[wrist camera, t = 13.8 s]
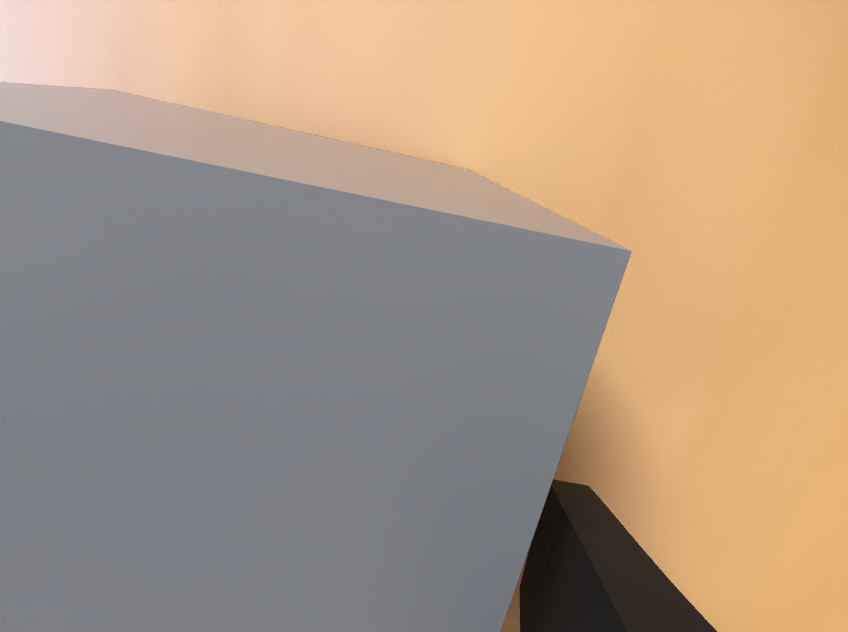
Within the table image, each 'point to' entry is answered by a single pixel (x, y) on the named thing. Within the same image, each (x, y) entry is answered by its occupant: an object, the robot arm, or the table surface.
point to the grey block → (272, 374)
